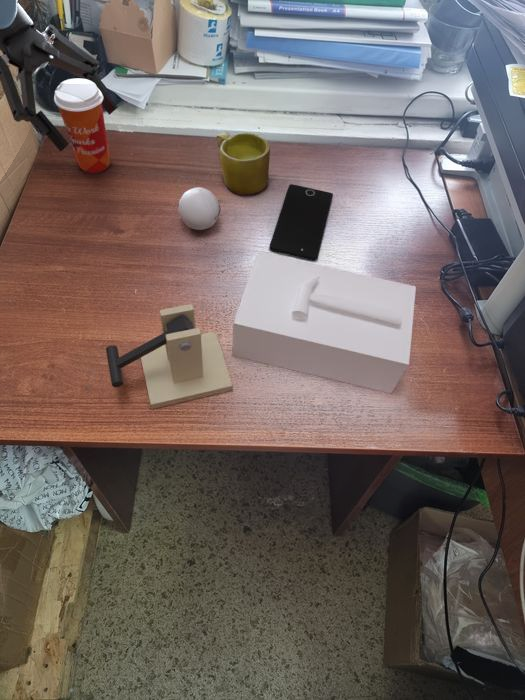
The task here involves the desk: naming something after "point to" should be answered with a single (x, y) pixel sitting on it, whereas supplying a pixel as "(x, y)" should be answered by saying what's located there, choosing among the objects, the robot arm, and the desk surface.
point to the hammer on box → (325, 322)
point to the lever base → (185, 364)
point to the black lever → (142, 349)
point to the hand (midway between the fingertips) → (90, 129)
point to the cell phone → (301, 222)
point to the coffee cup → (84, 122)
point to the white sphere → (199, 208)
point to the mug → (244, 162)
